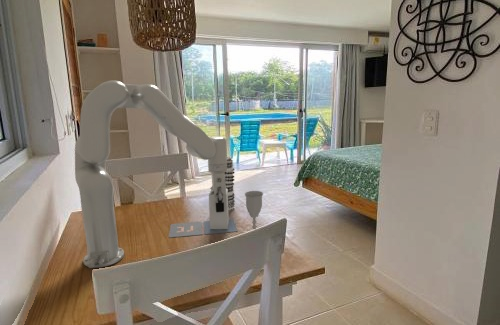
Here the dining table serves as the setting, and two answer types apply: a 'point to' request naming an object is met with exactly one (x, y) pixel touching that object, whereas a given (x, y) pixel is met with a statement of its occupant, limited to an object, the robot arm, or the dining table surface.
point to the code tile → (185, 229)
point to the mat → (214, 231)
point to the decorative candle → (230, 183)
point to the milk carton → (218, 218)
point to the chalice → (254, 204)
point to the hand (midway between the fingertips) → (219, 207)
